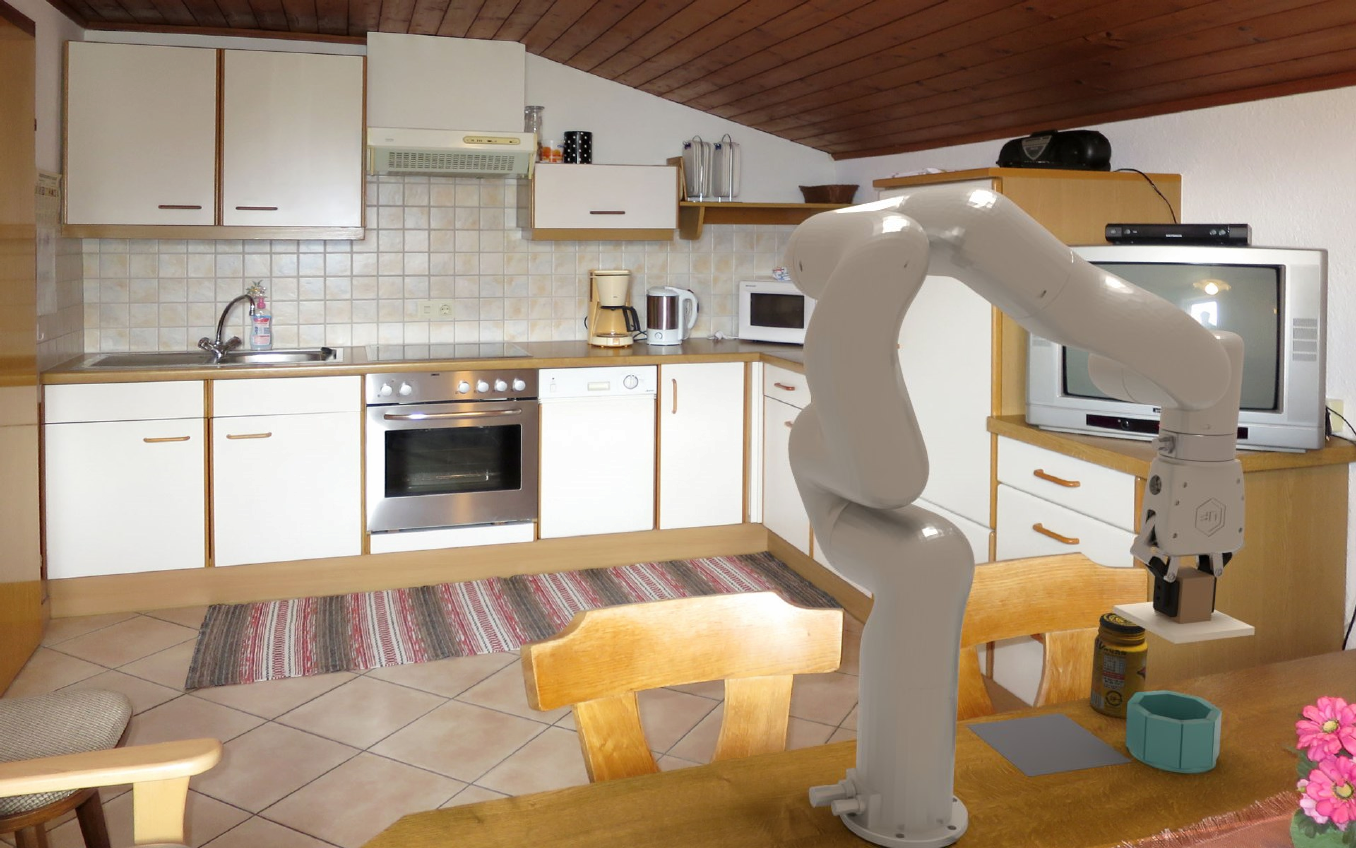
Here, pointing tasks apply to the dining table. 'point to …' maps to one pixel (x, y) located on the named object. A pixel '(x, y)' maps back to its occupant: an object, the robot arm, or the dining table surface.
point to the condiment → (1117, 665)
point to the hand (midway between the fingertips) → (1183, 609)
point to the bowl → (1173, 731)
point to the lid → (1187, 613)
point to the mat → (1047, 744)
